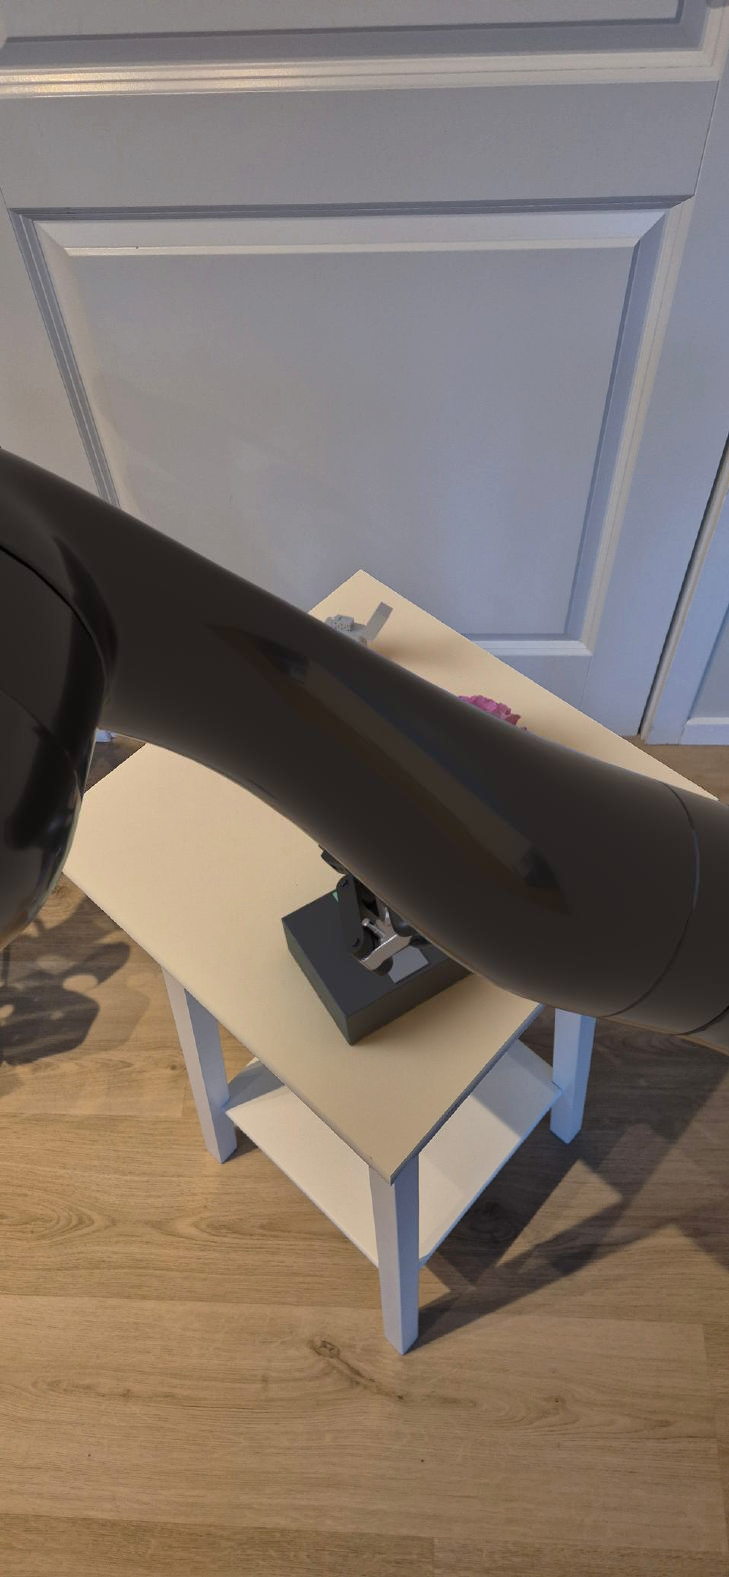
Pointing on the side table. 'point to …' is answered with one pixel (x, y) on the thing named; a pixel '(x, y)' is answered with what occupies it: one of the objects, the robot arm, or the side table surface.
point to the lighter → (360, 630)
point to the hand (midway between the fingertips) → (333, 844)
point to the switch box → (362, 971)
